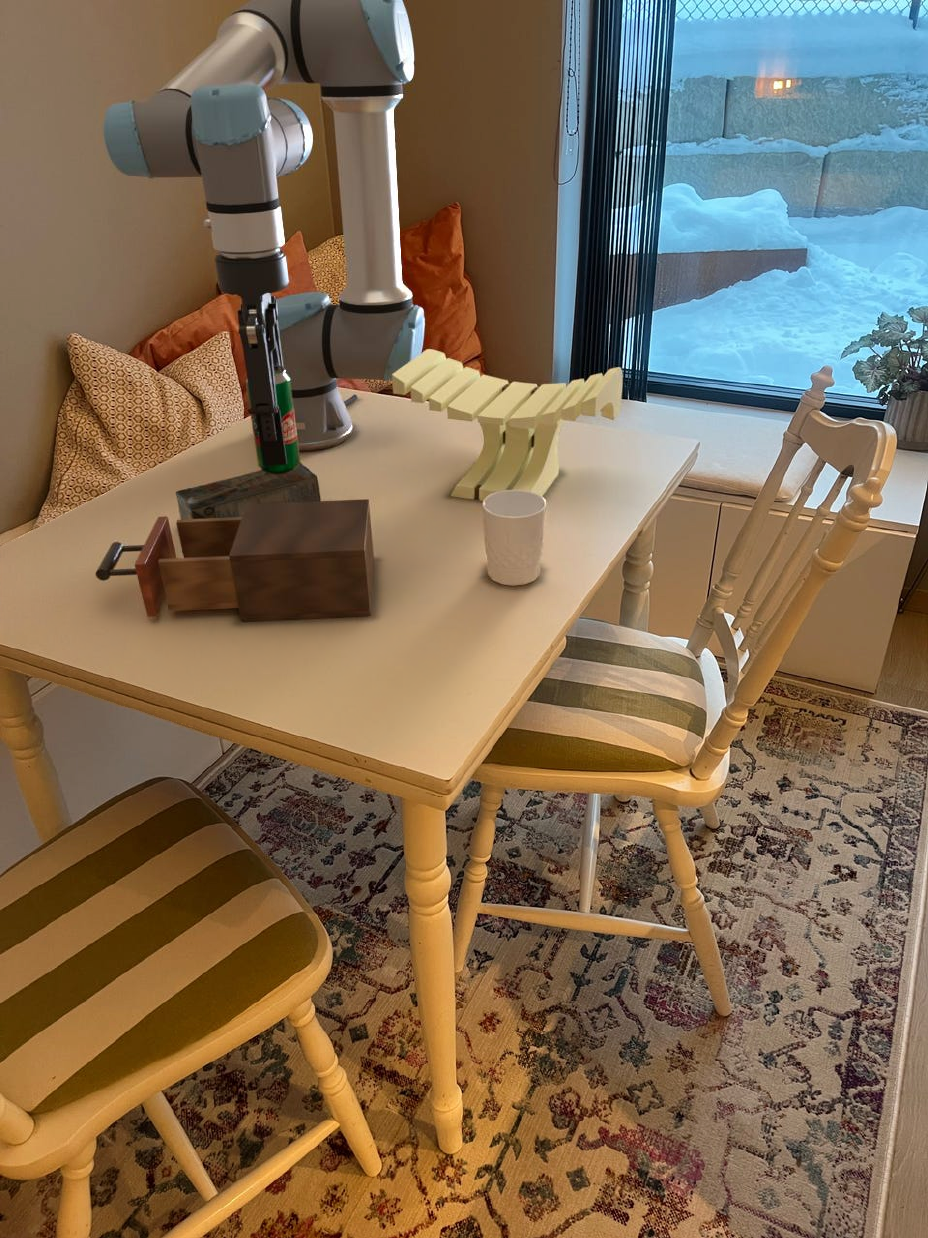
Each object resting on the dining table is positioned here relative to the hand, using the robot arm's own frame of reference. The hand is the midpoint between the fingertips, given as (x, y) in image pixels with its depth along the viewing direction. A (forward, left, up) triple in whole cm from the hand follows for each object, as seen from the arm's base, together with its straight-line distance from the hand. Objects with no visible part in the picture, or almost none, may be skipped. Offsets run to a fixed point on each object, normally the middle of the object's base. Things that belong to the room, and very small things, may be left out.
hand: (277, 453), depth 112 cm
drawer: (+4, -12, -16) cm, 20 cm away
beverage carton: (-16, -8, -17) cm, 25 cm away
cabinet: (+4, +2, -17) cm, 18 cm away
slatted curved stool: (-26, +30, -17) cm, 44 cm away
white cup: (+2, +28, -17) cm, 33 cm away
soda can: (0, 0, -2) cm, 2 cm away
